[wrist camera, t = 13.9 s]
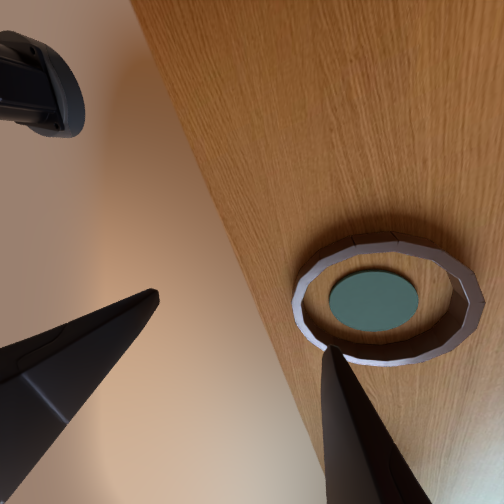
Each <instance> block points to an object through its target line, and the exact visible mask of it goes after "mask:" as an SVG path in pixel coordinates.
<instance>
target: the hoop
mask: <svg viewBox="0 0 504 504" xmlns="http://www.w3.org/2000/svg"><path fill="white" fill-rule="evenodd" d="M383 252H398V253H403V254H407V255H411V256H415V257H420V258H424V259H428V260H432V261H433V262H435V263H436V264H438V265H439V266H440V267H442V268H443V269H445V270H446V272H447V274H448V276H449V279H450V281H451V283H452V286H453V288H454V290H453V294H452V298H451V302H450V306H449V311H448V312H447V313H446V314H445V315H444V316H443V317H442V318H441V319H440V321H439V322H438V323H437V324H436V325H435V326H434V327H433V328H432V329H430V330H428V331H426V332H424V333H422V334H420V335H418V336H416V337H414V338H412V339H410V340H408V341H403V342H398V343H392V344H386V345H367V344H355V343H351V342H348V341H345V340H342V339H339V338H336V337H333V336H331V335H330V334H328V333H327V332H325V331H324V330H322V329H321V328H319V327H318V326H316V325H315V324H314V322H313V321H312V319H311V318H310V317H309V315H308V314H307V313H306V311H305V309H304V303H303V297H304V294H305V292H306V289H307V286H308V284H309V283H310V282H311V281H312V280H314V279H315V278H316V277H317V276H318V275H319V274H320V273H321V272H322V271H323V270H324V269H325V268H327V267H328V266H330V265H333V264H335V263H338V262H340V261H343V260H345V259H348V258H350V257H353V256H355V255H358V254H370V253H383ZM291 304H292V309H293V314H294V319H295V323H296V325H297V326H298V327H299V329H300V330H301V331H302V333H303V334H304V335H305V337H306V338H307V339H308V341H310V342H311V343H312V344H314V345H316V346H317V347H319V348H320V349H322V350H323V351H325V350H326V349H327V347H328V345H330V344H331V345H334V346H337V347H339V348H340V350H341V352H342V353H343V355H344V357H345V359H346V360H347V361H349V362H352V363H355V364H362V365H372V366H383V367H392V366H399V365H407V364H415V363H420V362H421V363H422V362H425V361H427V360H430V359H432V358H435V357H437V356H440V355H442V354H445V353H447V352H450V351H452V350H453V349H455V348H456V347H457V346H458V345H459V344H460V343H461V342H463V341H464V340H465V339H466V338H467V337H468V336H469V335H471V334H472V333H473V332H474V331H475V330H476V329H477V326H478V323H479V320H480V317H481V314H482V311H483V308H484V305H485V299H484V297H483V294H482V292H481V289H480V286H479V284H478V281H477V279H476V276H475V273H474V272H473V271H472V270H470V269H469V268H468V267H466V266H465V265H464V264H463V263H461V262H460V261H459V260H457V259H456V258H455V257H453V256H452V255H450V254H449V253H448V252H446V251H445V250H443V249H442V248H441V247H439V246H438V245H436V244H435V243H434V242H432V241H431V240H429V239H424V238H420V237H415V236H411V235H406V234H401V233H397V232H392V231H390V232H389V231H388V232H379V233H370V234H361V235H352V236H348V237H346V238H344V239H342V240H340V241H337V242H335V243H333V244H331V245H329V246H327V247H324V248H322V249H320V250H318V251H317V253H316V254H315V255H314V256H313V257H312V258H311V259H310V260H309V261H308V262H307V263H306V264H305V265H304V266H303V267H302V268H301V269H300V270H299V273H298V276H297V279H296V282H295V285H294V288H293V293H292V301H291Z"/></svg>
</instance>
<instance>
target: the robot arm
mask: <svg viewBox="0 0 504 504" xmlns="http://www.w3.org/2000/svg"><path fill="white" fill-rule="evenodd" d="M0 120H7V121H14V122H16V123H17V124H21V125H26V126H32V127H37V128H42V129H48V130H53V131H58V132H64V131H65V126H64V123H63V119H62V116H61V113H60V109H59V106H58V103H57V99H56V96H55V93H54V89H53V86H52V83H51V80H50V76H49V73H48V70H47V66H46V63H45V60H44V56H43V53H42V51H41V49H40V48H39V47H38V46H37V45H34V44H32V43H25V42H15V41H5V40H0ZM159 302H160V299H159V292H158V290H155V289H152V288H150V289H147V290H145V291H142V292H140V293H137V294H135V295H132V296H130V297H128V298H125V299H123V300H120V301H118V302H116V303H113V304H111V305H109V306H106V307H104V308H101V309H99V310H96V311H94V312H92V313H89V314H87V315H84V316H82V317H80V318H77V319H75V320H72V321H70V322H68V323H65V324H63V325H60V326H58V327H55V328H53V329H51V330H48V331H45V332H43V333H40V334H38V335H35V336H32V337H30V338H27V339H24V340H22V341H19V342H16V343H13V344H10V345H8V346H5V347H2V348H0V504H4V503H5V502H6V501H7V500H8V499H9V497H10V496H11V495H12V494H13V493H14V491H15V490H16V489H17V487H18V486H19V485H20V484H21V483H22V481H23V480H24V479H25V477H26V476H27V475H28V474H29V472H30V471H31V470H32V469H33V467H34V466H35V465H36V464H37V462H38V461H39V460H40V459H41V457H42V456H43V455H44V454H45V452H46V451H47V450H48V448H49V447H50V446H51V445H52V444H53V442H54V441H55V440H56V439H57V437H58V436H59V435H60V433H61V432H62V431H63V430H64V428H65V427H66V426H67V424H68V423H69V422H70V421H71V419H72V418H73V417H74V415H75V414H76V413H77V412H78V411H79V409H80V408H81V407H82V406H83V404H84V403H85V402H86V400H87V399H88V398H89V397H90V395H91V394H92V393H93V392H94V390H95V389H96V388H97V387H98V385H99V384H100V383H101V382H102V380H103V379H104V378H105V377H106V375H107V374H108V373H109V371H110V370H111V369H112V368H113V366H114V365H115V364H116V363H117V362H118V360H119V359H120V358H121V356H122V355H123V354H124V353H125V351H126V350H127V349H128V348H129V346H130V345H131V344H132V343H133V341H134V340H135V339H136V338H137V336H138V335H139V334H140V332H141V331H142V330H143V328H144V327H145V325H146V324H147V322H148V321H149V319H150V318H151V316H152V314H153V313H154V311H155V310H156V308H157V307H158V305H159ZM321 410H322V427H323V444H324V462H325V479H326V496H327V504H432V503H431V501H430V500H429V498H428V496H427V495H426V493H425V492H424V490H423V489H422V487H421V486H420V484H419V482H418V481H417V479H416V478H415V476H414V474H413V473H412V471H411V469H410V468H409V466H408V464H407V463H406V461H405V460H404V458H403V456H402V454H401V453H400V451H399V449H398V448H397V446H396V444H395V443H394V441H393V439H392V437H391V436H390V434H389V432H388V431H387V429H386V427H385V425H384V424H383V422H382V420H381V419H380V417H379V415H378V413H377V412H376V410H375V408H374V407H373V405H372V403H371V401H370V400H369V398H368V396H367V395H366V393H365V391H364V389H363V388H362V386H361V384H360V383H359V381H358V379H357V377H356V376H355V374H354V372H353V371H352V369H351V367H350V365H349V364H348V362H347V360H346V359H345V357H344V355H343V353H342V352H341V350H340V348H339V347H337V346H334V345H331V344H330V345H328V347H327V349H326V350H325V352H324V354H323V357H322V374H321Z"/></svg>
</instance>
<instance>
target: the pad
mask: <svg viewBox="0 0 504 504" xmlns="http://www.w3.org/2000/svg"><path fill="white" fill-rule="evenodd" d="M329 305H330V309H331V311H332V313H333V315H334V316H335V317H336V318H337V319H338V320H339V321H340V322H341V323H343V324H345V325H346V326H349V327H351V328H354V329H357V330H362V331H370V332H376V331H384V330H389V329H393V328H395V327H398V326H400V325H402V324H403V323H405V322H406V321H408V320H409V319H410V318H411V317H412V316H413V315H414V313H415V312H416V309H417V307H418V295H417V292H416V290H415V289H414V287H413V286H412V284H411V283H410V282H409V281H408V280H406V279H405V278H403V277H402V276H400V275H398V274H396V273H393V272H389V271H385V270H363V271H358V272H355V273H352V274H350V275H347V276H346V277H344V278H342V279H341V280H340V281H339V282H337V283H336V285H335V286H334V287H333V289H332V290H331V293H330V296H329Z"/></svg>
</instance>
